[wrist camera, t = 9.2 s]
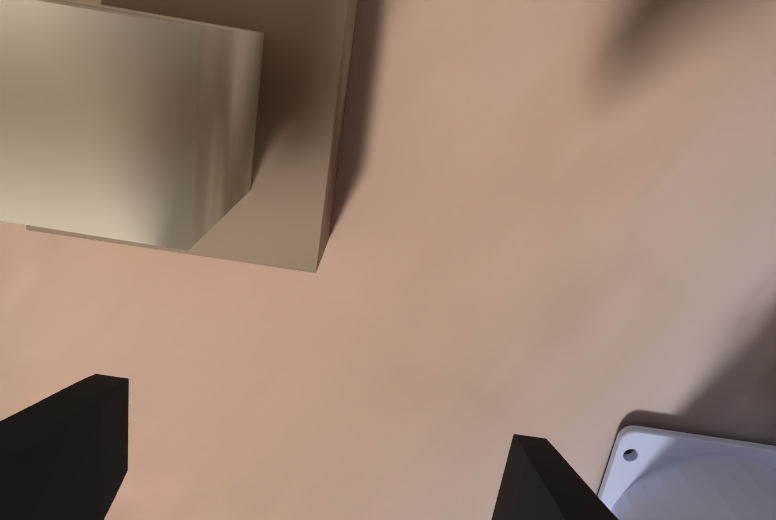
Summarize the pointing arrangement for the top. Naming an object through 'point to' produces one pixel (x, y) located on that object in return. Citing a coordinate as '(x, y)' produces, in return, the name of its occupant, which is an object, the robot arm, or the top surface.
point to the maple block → (124, 120)
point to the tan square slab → (278, 127)
